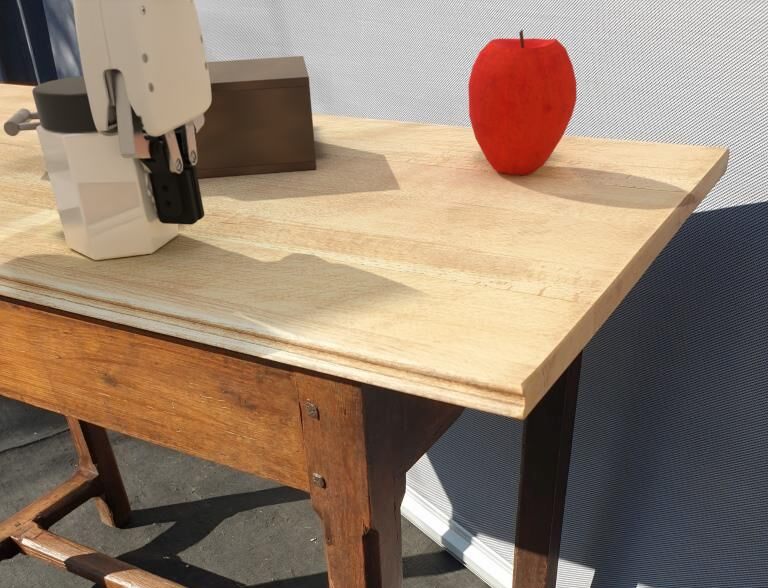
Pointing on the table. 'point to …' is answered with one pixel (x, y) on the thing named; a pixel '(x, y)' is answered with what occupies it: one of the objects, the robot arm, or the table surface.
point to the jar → (95, 179)
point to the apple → (521, 101)
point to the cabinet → (257, 119)
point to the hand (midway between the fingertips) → (182, 220)
